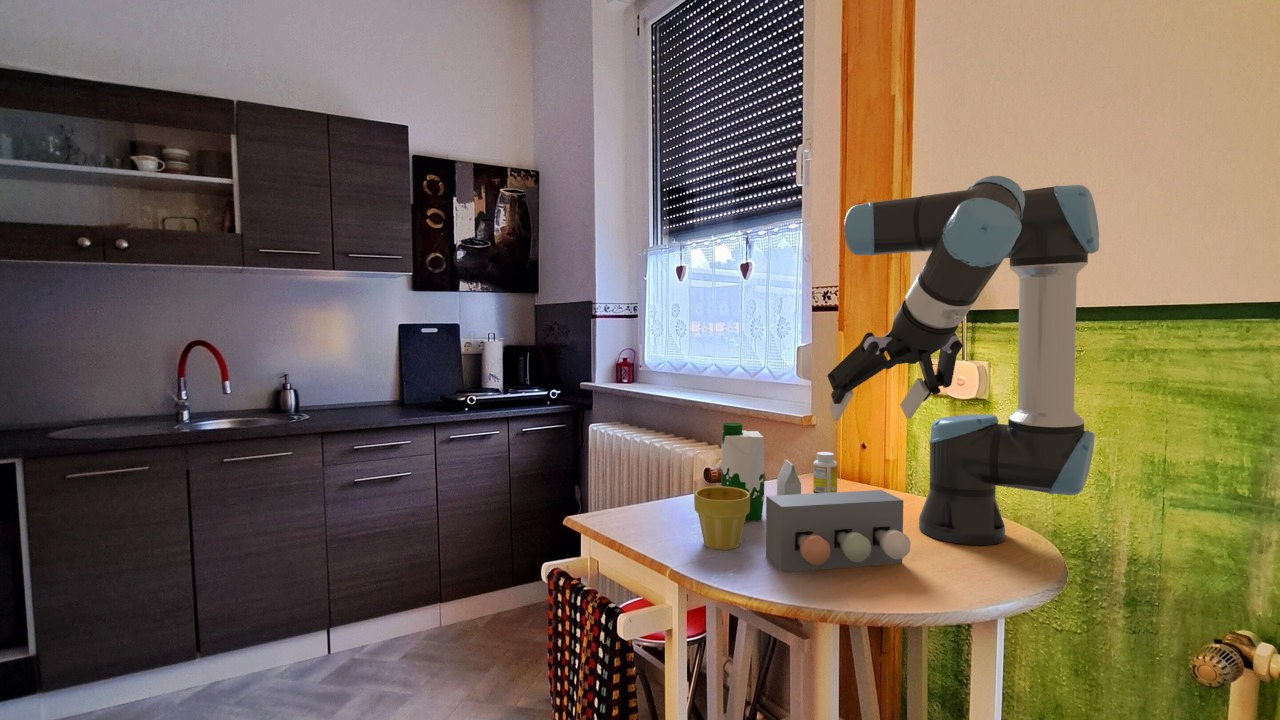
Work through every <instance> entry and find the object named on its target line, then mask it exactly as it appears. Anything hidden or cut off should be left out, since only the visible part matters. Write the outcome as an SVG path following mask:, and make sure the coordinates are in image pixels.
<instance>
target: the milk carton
mask: <svg viewBox="0 0 1280 720" xmlns="http://www.w3.org/2000/svg"><path fill="white" fill-rule="evenodd" d="M722 425H723V426H722V427H723V429H722V432H721V449H720V450H721V456H720V462H721V463H720V469H721V471H720V472H721V473H720V475H721V476H720V486H726V487H734V488H739V489H743V490H745V491H747V492H749V494H750V511H749V513H748V514H747V515H746V518H745V522H762V517H763V508H764V500H765V443H764V438H765V437H764V436H763V435H762V434H761V433H760V432H759V430H749V431H748V430H743V423H740V422H724V423H723V424H722Z"/></svg>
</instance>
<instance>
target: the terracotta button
mask: <svg viewBox="0 0 1280 720" xmlns="http://www.w3.org/2000/svg"><path fill="white" fill-rule="evenodd" d="M796 542H797V544H798V545H799V546H800V553H801V555H802V557H803V558H804V559H806V560H807V561H808V562H809V563H811V564H813V565H820V564H823V563H824V562H826V561H827V559H828V558H829V556H830V545H829V543H828V542H827V541H826V540H825V539H823V538H822V537H820V536H819V535H815V534H812V535H806V534H804V533H801V534H799V535H798V536H797V538H796Z"/></svg>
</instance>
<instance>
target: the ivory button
mask: <svg viewBox="0 0 1280 720" xmlns="http://www.w3.org/2000/svg"><path fill="white" fill-rule="evenodd" d="M873 537H874V539H875V540H876V541H878V542H879V543H880V548H881V550H882V551H883V552H884V553H885V554H886V555H888V556H889V557H891V558H893V559H902V560H903V558H905V557H906V556H907V555H909V552H910V551H911V547H912V545H911V540H910V538H909V537H908V535H907V534H906V533H904V532H903V533H902V532H900V531H898V530H895V529H891V530H888V531H885V530H883V529H880V528H879V529H876V530H875V531H874V533H873Z"/></svg>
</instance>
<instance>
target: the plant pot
mask: <svg viewBox="0 0 1280 720" xmlns="http://www.w3.org/2000/svg"><path fill="white" fill-rule="evenodd" d="M693 502H694V503H693V504H694V505H693V507H694V511H695V512H696V513H697V514H698V518H699V519H698V520H699V524H700V528H701V529H700V530H701V535H702V539H703V540H702V541H703V544H704V545H705V547H708V548H710V549H714V550H721V551H727V550H733V549H736V548H738V547H739V545H740V543H741V537H742V535H743V530H744V526H745V522H746V521H745V518H746V515H747V514H748V513H749V511H750V494H749V492H747V491H745V490H743V489H739V488H734V487H726V486H721V485H719V486H718V485H716V486H715V485H713V486H705V487H702V488H699V489H697V490H696V491H695V492H694V501H693Z"/></svg>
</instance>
